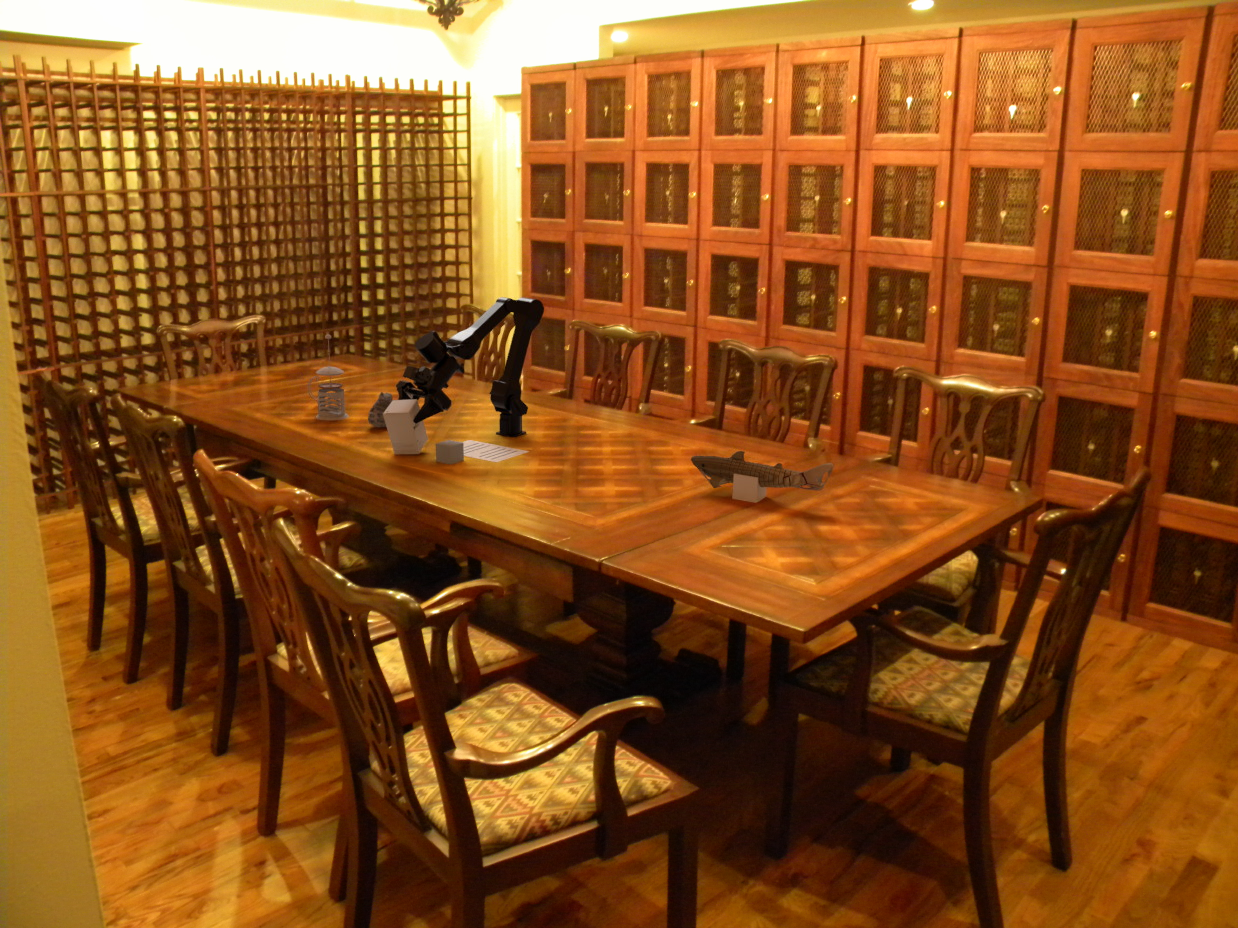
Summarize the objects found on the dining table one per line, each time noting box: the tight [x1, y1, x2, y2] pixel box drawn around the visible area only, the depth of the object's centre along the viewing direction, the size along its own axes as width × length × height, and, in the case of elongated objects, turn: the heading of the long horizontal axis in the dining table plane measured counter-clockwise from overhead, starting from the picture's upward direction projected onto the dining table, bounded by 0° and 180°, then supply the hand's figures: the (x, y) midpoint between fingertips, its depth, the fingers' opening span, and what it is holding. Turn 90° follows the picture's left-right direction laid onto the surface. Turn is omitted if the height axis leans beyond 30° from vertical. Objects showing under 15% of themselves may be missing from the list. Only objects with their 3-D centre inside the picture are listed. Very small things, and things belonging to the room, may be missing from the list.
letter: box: [462, 439, 530, 463], centre depth 286 cm, size 14×21×1 cm, turn 57°
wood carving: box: [690, 450, 834, 503], centre depth 248 cm, size 9×35×11 cm, turn 61°
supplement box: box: [383, 399, 429, 455], centre depth 280 cm, size 7×7×13 cm
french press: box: [307, 334, 349, 421], centre depth 318 cm, size 10×12×25 cm
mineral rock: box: [367, 391, 394, 428], centre depth 311 cm, size 13×11×10 cm
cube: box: [435, 439, 465, 465], centre depth 275 cm, size 5×5×5 cm
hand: (404, 419), depth 279 cm, fingers closed on supplement box, 9 cm apart
